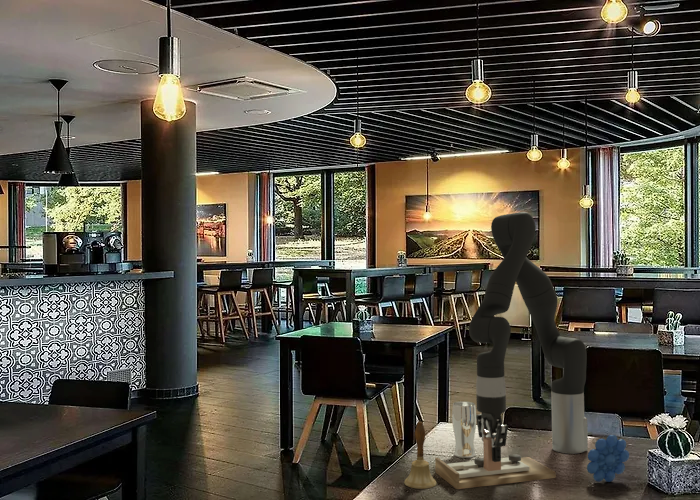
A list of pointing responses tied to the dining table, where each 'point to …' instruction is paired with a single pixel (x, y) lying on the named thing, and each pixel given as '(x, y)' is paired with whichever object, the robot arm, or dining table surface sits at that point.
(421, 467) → the hand bell
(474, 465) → the panel
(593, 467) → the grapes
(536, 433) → the dining table surface
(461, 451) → the beer glass
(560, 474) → the dining table surface
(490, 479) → the boss board
